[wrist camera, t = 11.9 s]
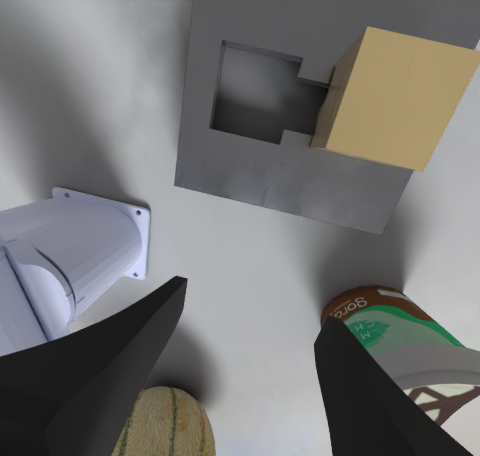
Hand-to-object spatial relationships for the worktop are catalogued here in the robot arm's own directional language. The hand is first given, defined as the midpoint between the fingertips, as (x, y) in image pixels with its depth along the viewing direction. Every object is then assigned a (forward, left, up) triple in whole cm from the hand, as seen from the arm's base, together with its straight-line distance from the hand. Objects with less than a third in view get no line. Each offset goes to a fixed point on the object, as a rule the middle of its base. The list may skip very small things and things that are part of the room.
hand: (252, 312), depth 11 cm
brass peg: (+4, +11, -10) cm, 15 cm away
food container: (+11, -6, -11) cm, 16 cm away
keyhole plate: (+1, +10, -10) cm, 15 cm away
